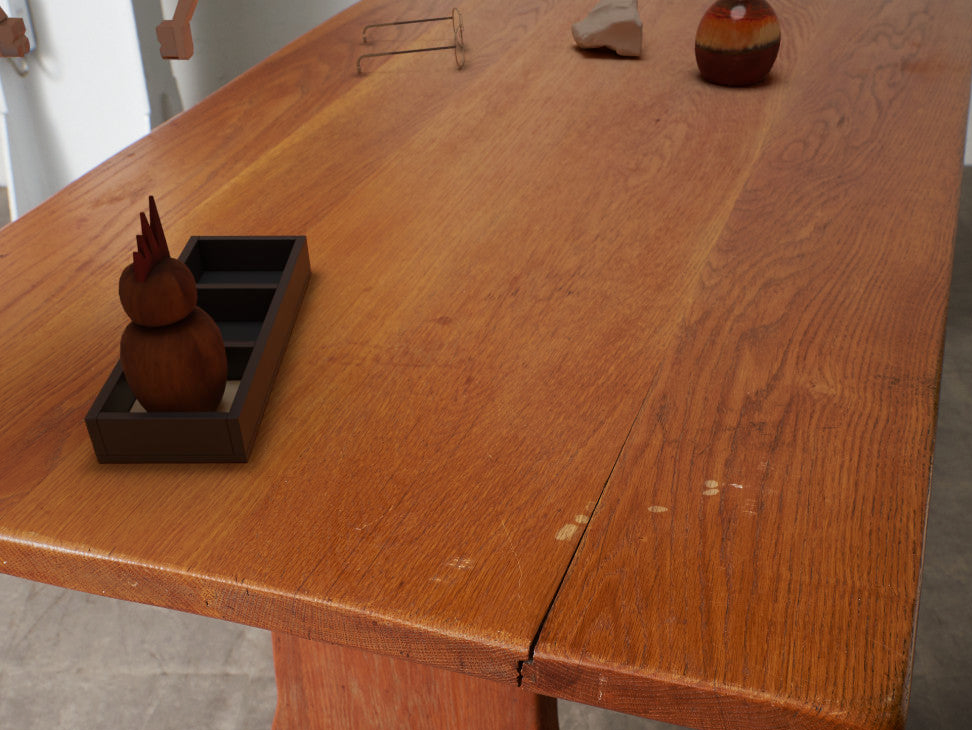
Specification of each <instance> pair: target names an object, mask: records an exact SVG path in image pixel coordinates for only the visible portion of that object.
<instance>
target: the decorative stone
mask: <svg viewBox="0 0 972 730" xmlns="http://www.w3.org/2000/svg"><path fill="white" fill-rule="evenodd" d="M638 7H639V0H600V1H599V2H597V3H596V4H595V6H594V7H593V8H592V9H591V10H590V11H589V12H588V13H587V15H586V17H585V18H584V19H581V21H578V22H573V23H572V24H571V35H572V38H573V40H574V42H575V44H576V45H577V46H578V47H579V48H580V49H583V50H585V49H587V50H588V49H597V48H600V47H604V46H605V47H606V48H608V49H609V50H611V51H614V52H616V54H617V55H619V56H622V57H640V56H641V54H642V50H643V49H642V48H643V45H642V44H643V35H644V30H643V29H644V28H643V27H644V24H643V20H642V19H640V13H639V8H638Z"/></svg>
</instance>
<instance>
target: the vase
mask: <svg viewBox="0 0 972 730" xmlns="http://www.w3.org/2000/svg"><path fill="white" fill-rule="evenodd" d="M781 31H782V30H781V23H780V19H779V17H778V14H777V13H776V10H775V9H774V7H773V6H772V5H771V3H770V2H769V1H768V0H715V1H714V2H712V4H710V5H709V7H708V8H707V9H706V10H705V12H704V13H703V14H702V16H701V18H700V20H699V22H698V25H697V28H696V32H695V39H694V55H695V62H696V65H697V69H698V70H699V73H700V74H701V75H702V77H703V78H704V79H705V80H707V81H708V82H710V83H713V84H716V85H721V86H726V87H727V86H729V87H744V86H745V87H746V86H747V87H748V86H752V85H756V84H758V83H760V82H762V81H763V80H764V79H765V78H766V77H767V76H768V75H769V73H770V72H771V71H772V69H773V67H774V65H775V63H776V60H777V58H778V54H779V51H780V47H781V41H782V32H781Z"/></svg>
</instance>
